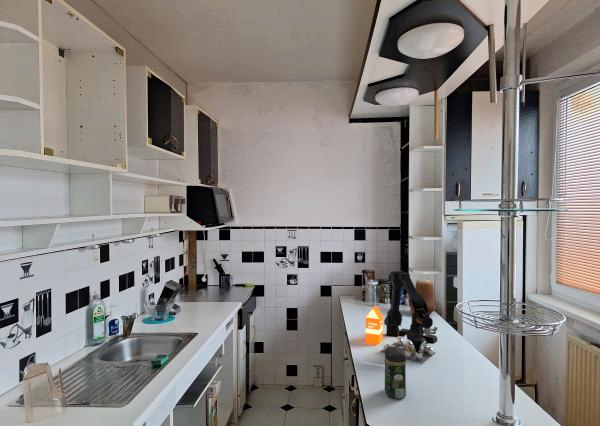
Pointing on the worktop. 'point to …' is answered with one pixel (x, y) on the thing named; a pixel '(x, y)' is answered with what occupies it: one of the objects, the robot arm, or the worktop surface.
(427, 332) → the mechanical component
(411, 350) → the nut
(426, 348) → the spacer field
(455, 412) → the worktop surface
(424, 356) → the mat
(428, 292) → the butternut squash
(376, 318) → the orange juice
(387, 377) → the coffee jar
